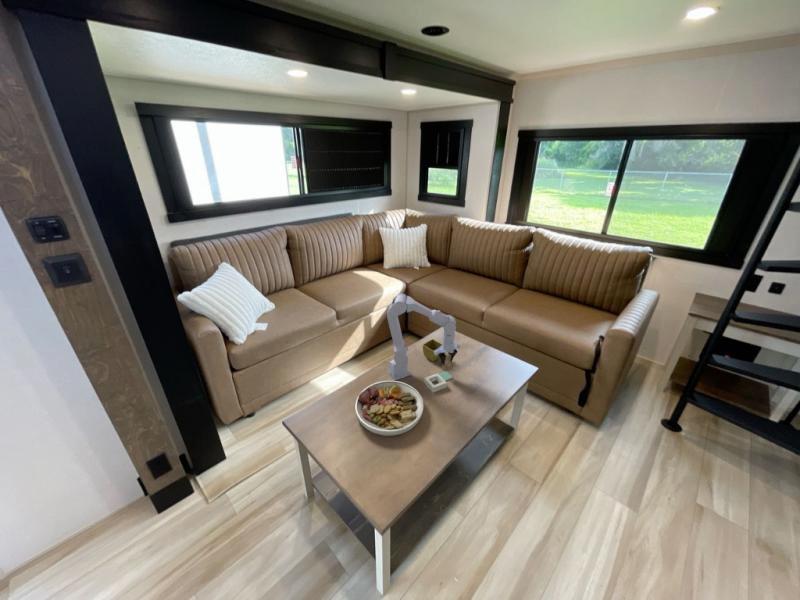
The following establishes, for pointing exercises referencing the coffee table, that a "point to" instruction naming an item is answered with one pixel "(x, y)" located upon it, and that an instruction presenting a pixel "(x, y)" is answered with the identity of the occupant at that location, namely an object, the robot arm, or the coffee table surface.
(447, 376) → the pad
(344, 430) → the coffee table surface
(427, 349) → the flower pot
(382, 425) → the bowl
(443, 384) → the socket block
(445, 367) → the dowel
